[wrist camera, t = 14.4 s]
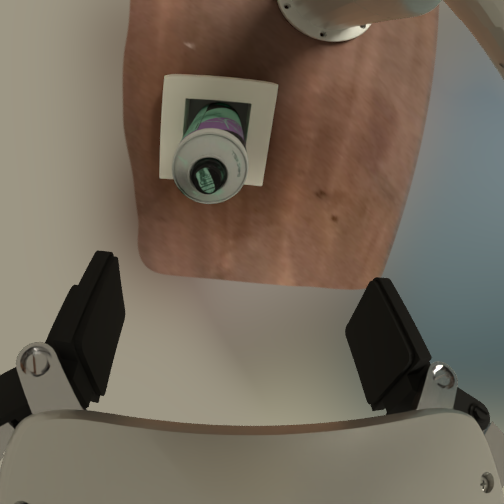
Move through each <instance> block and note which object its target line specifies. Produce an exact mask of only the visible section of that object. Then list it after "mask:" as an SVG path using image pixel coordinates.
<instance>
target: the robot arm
mask: <svg viewBox="0 0 504 504" xmlns="http://www.w3.org/2000/svg"><path fill="white" fill-rule="evenodd" d="M441 1H442V0H277V2H278V6H279V8H280V10H281V12H282V14H283V16H284V17H285V18H286V19H287V21H288V22H289V23H290V24H291V25H292V26H293V27H295V28H296V29H297V30H299V31H300V32H302V33H303V34H305V35H307V36H309V37H311V38H314V39H317V40H321V41H328V42H341V41H347V40H350V39H353V38H356V37H358V36H359V35H361V34H363V33H364V32H365V31H366V30H367V29H368V28H369V27H370V25H371V24H372V23H377V22H383V21H389V20H396V19H403V18H410V17H416V16H420V15H423V14H426V13H428V12H430V11H431V10H433V9H434V8H435V7H436V6H437V5H438V4H439V3H440V2H441ZM443 1H444V2H445V3H446V4H447V5H448V6H449V7H450V8H451V10H452V11H453V12H454V13H455V14H456V15H457V17H458V18H459V19H460V20H462V21H463V23H464V24H465V25H466V27H467V28H468V29H469V30H470V32H471V33H472V34H473V36H474V37H475V38H476V39H477V41H478V42H479V44H480V45H481V47H482V48H483V49H484V51H485V52H486V54H487V55H488V57H489V58H490V60H491V61H492V63H493V64H494V66H495V68H496V69H497V70H498V72H499V73H500V75H501V77H502V78H503V80H504V0H443ZM284 6H288V9H285V8H284ZM360 26H361V28H360ZM320 33H322V34H323V36H320ZM124 319H125V307H124V301H123V294H122V287H121V280H120V271H119V263H118V258H117V257H114V256H113V253H112V252H106V251H96V252H95V254H94V256H93V258H92V260H91V262H90V263H89V265H88V267H87V269H86V271H85V273H84V275H83V277H82V279H81V281H80V283H79V285H73V286H72V287H71V289H70V291H69V293H68V295H67V297H66V299H65V301H64V303H63V305H62V307H61V309H60V311H59V313H58V316H57V318H56V320H55V322H54V324H53V326H52V328H51V331H50V333H49V335H48V338H47V340H46V342H45V343H42V342H35V343H31V344H29V345H27V346H25V347H24V348H23V349H22V350H21V351H20V353H19V354H18V356H17V360H16V367H15V368H13V369H11V370H9V371H7V372H5V373H4V374H2V375H0V460H1V459H2V458H3V457H4V458H3V462H2V465H1V470H0V504H504V495H503V491H502V488H503V486H504V434H503V433H502V432H501V430H500V429H499V428H498V427H497V426H496V425H495V424H494V423H493V422H491V423H490V416H489V412H488V410H487V408H486V407H485V405H484V404H482V403H481V402H480V401H478V400H477V399H475V398H473V397H472V396H470V395H469V394H467V393H466V392H464V391H463V390H461V389H459V388H458V387H457V385H458V383H457V381H458V380H457V376H456V374H455V372H454V370H453V369H452V368H451V367H450V366H448V365H447V364H445V363H443V362H434V363H432V364H430V362H429V361H430V360H431V355H430V353H429V351H428V349H427V347H426V345H425V343H424V341H423V339H422V337H421V335H420V333H419V331H418V329H417V327H416V325H415V323H414V321H413V320H412V318H411V316H410V314H409V312H408V310H407V308H406V306H405V305H404V303H403V301H402V299H401V298H400V296H399V294H398V292H397V290H396V289H395V287H394V285H393V283H392V282H391V280H390V279H388V278H378V277H377V278H374V279H373V281H370V282H369V284H368V286H367V288H366V290H365V292H364V294H363V297H362V298H361V300H360V302H359V304H358V306H357V308H356V309H355V311H354V313H353V315H352V317H351V319H350V321H349V323H348V324H347V326H346V330H345V333H346V338H347V341H348V344H349V347H350V350H351V353H352V356H353V359H354V362H355V365H356V368H357V371H358V374H359V377H360V380H361V383H362V387H363V390H364V393H365V397H366V400H367V402H368V404H371V407H372V411H376V410H383V409H385V408H386V411H387V413H386V415H384V416H378V417H371V418H364V419H357V420H348V421H339V422H329V423H318V424H303V425H281V426H227V425H206V424H191V423H179V422H170V421H160V420H152V419H144V418H136V417H129V416H122V415H116V414H110V413H102V412H96V411H87V410H86V408H87V407H89V403H90V401H92V402H96V403H98V402H99V398H100V395H101V396H104V395H105V392H106V388H107V383H108V379H109V375H110V371H111V367H112V363H113V359H114V355H115V352H116V348H117V344H118V341H119V337H120V333H121V330H122V326H123V323H124ZM5 450H6V451H5ZM4 451H5V455H3V452H4Z"/></svg>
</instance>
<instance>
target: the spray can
mask: <svg viewBox="0 0 504 504" xmlns="http://www.w3.org/2000/svg"><path fill="white" fill-rule="evenodd" d="M248 168H249V161H248V155H247V151H246V146H245V141H244V136H243V131H242V126H241V122H240V117H239V115H238V113H237V111H236V110H235V109H234V108H233V107H232V106H231V105H229V104H227V103H224V102H213V103H209V104H207V105H206V106H204V107H203V108H202V109H201V110H200V111H199V112H198V114H197V115H196V117H195V119H194V120H193V122H192V123H191V125H190V127H189V128H188V130H187V132H186V133H185V135H184V137H183V138H182V140H181V142H180V143H179V145H178V147H177V149H176V150H175V153H174V156H173V160H172V175H173V179H174V182H175V184H176V185H177V187H178V189H179V190H180V191H181V192H182V193H183V194H184V195H185V196H187V197H188V198H190V199H192V200H194V201H196V202H199V203H204V204H216V203H220V202H224V201H226V200H228V199H230V198H231V197H233V196H234V195H236V194H237V193H238V192H239V191H240V189H241V188H242V186H243V185H244V183H245V180H246V178H247V174H248Z"/></svg>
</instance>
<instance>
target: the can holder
mask: <svg viewBox="0 0 504 504" xmlns="http://www.w3.org/2000/svg"><path fill="white" fill-rule="evenodd" d="M277 92H278V84H275V83H273V82H268V81H261V80H253V79H244V78H235V77H224V76H211V75H193V74H170V75H165V76H164V86H163V99H162V114H161V134H160V168H159V178H160V179H173V175H172V160H173V156H174V153H175V150H176V149H177V147H178V145H179V143H180V142H181V140H182V138H183V137H184V135H185V133H186V132H187V130H188V128H189V127H190V125H191V123H192V122H193V120H194V119H195V117H196V115H197V114H198V112H199V111H200V110H201V109H202V108H203V107H204V106H206V105H207V104H209V103H213V102H224V103H227V104H229V105H231V106H232V107H233V108H234V109H235V110H236V111H237V113H238V115H239V117H240V122H241V126H242V131H243V136H244V141H245V146H246V151H247V155H248V161H249V168H248V174H247V178H246V180H245V183H244V184H245V185H255V186H262V184H263V178H264V172H265V166H266V160H267V153H268V147H269V141H270V135H271V129H272V123H273V116H274V110H275V104H276V98H277Z"/></svg>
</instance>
